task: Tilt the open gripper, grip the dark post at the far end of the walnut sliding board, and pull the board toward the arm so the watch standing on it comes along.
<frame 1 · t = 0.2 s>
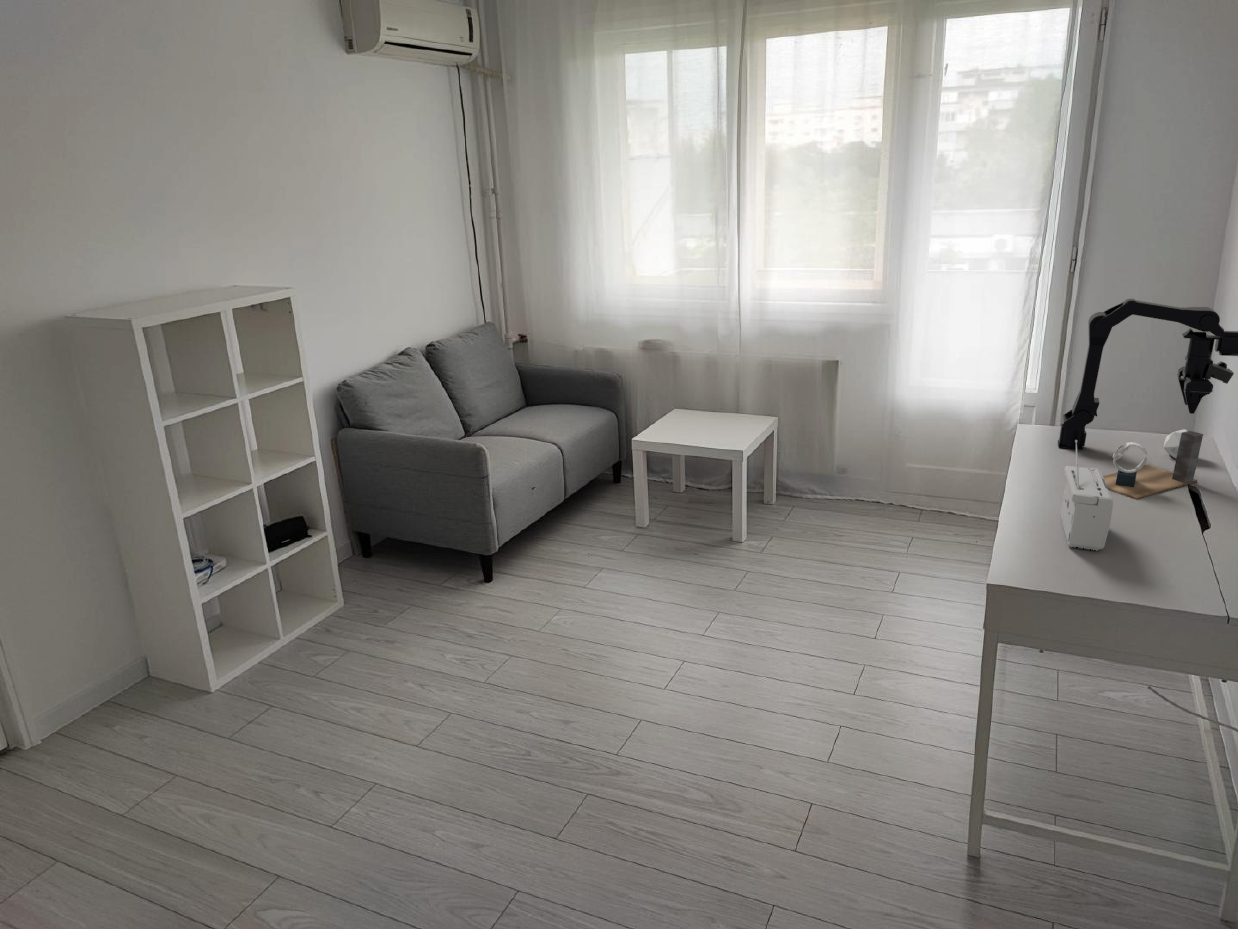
hand: (1189, 409, 250), 14 cm above the table, tool pointing down, fingers open, 9 cm apart
watch: (1124, 483, 236), resting on pull board
pull board: (1146, 458, 235), point 7 cm above the table, slide at 0.0 cm, touching watch
stereo radio cassette player: (1079, 534, 207), on the table
die: (1178, 457, 255), on the table
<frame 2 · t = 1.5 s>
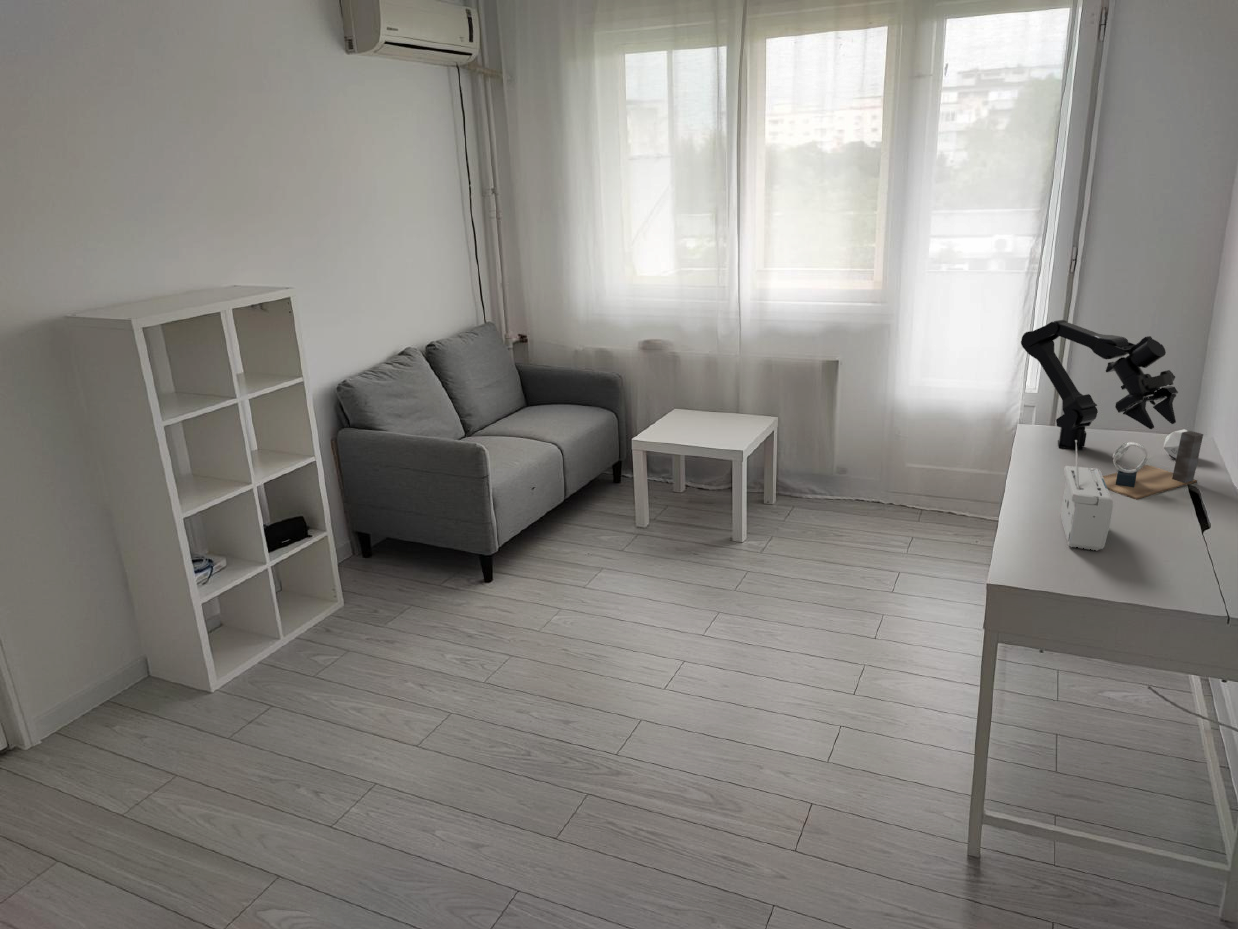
hand: (1163, 425, 239), 13 cm above the table, tool tilted 45°, fingers open, 9 cm apart
nothing on the table moved.
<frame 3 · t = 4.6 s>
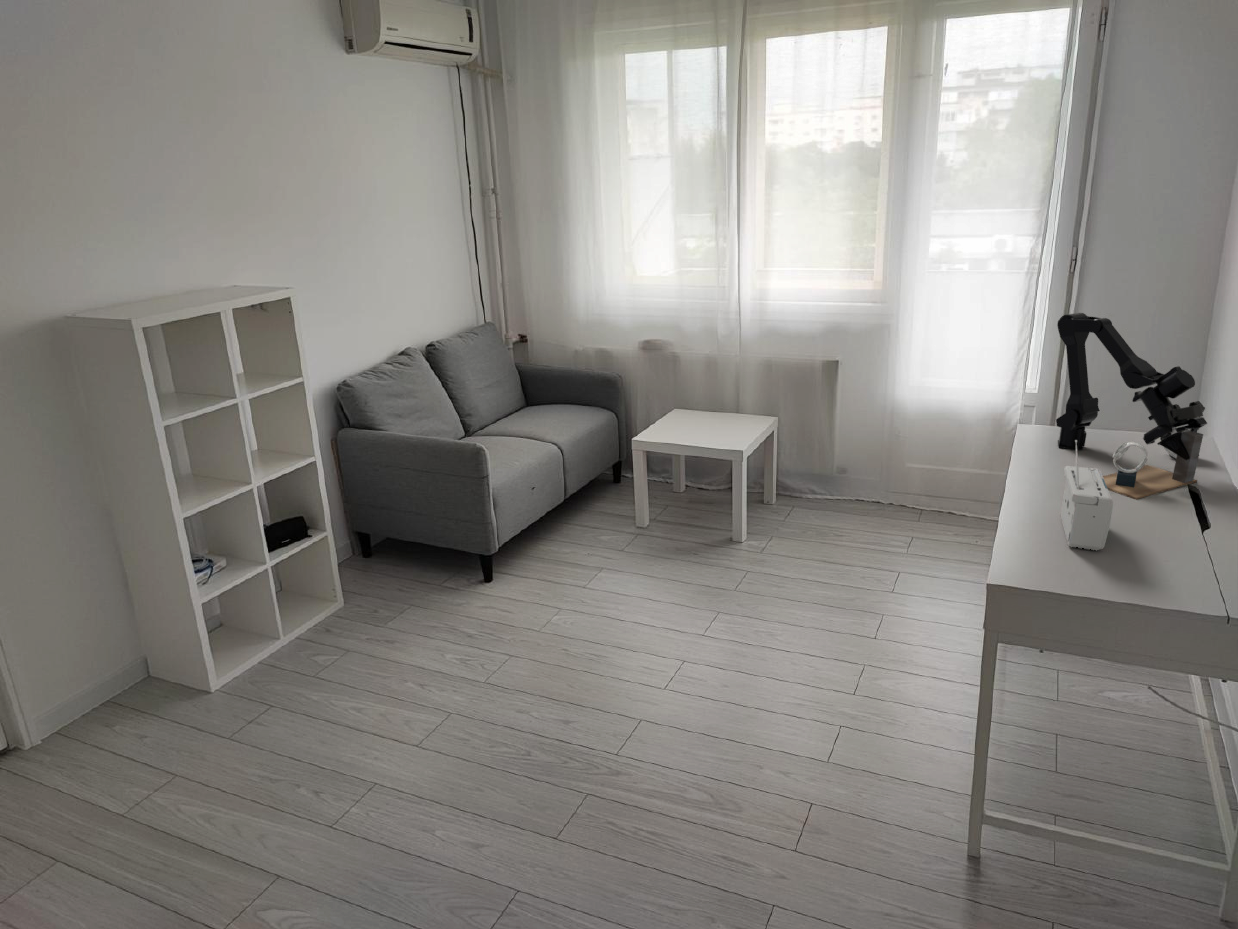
hand: (1192, 458, 234), 7 cm above the table, tool tilted 45°, fingers closed on pull board, 3 cm apart
pull board: (1146, 458, 235), point 7 cm above the table, slide at 0.0 cm, touching gripper, watch
everything else where it was.
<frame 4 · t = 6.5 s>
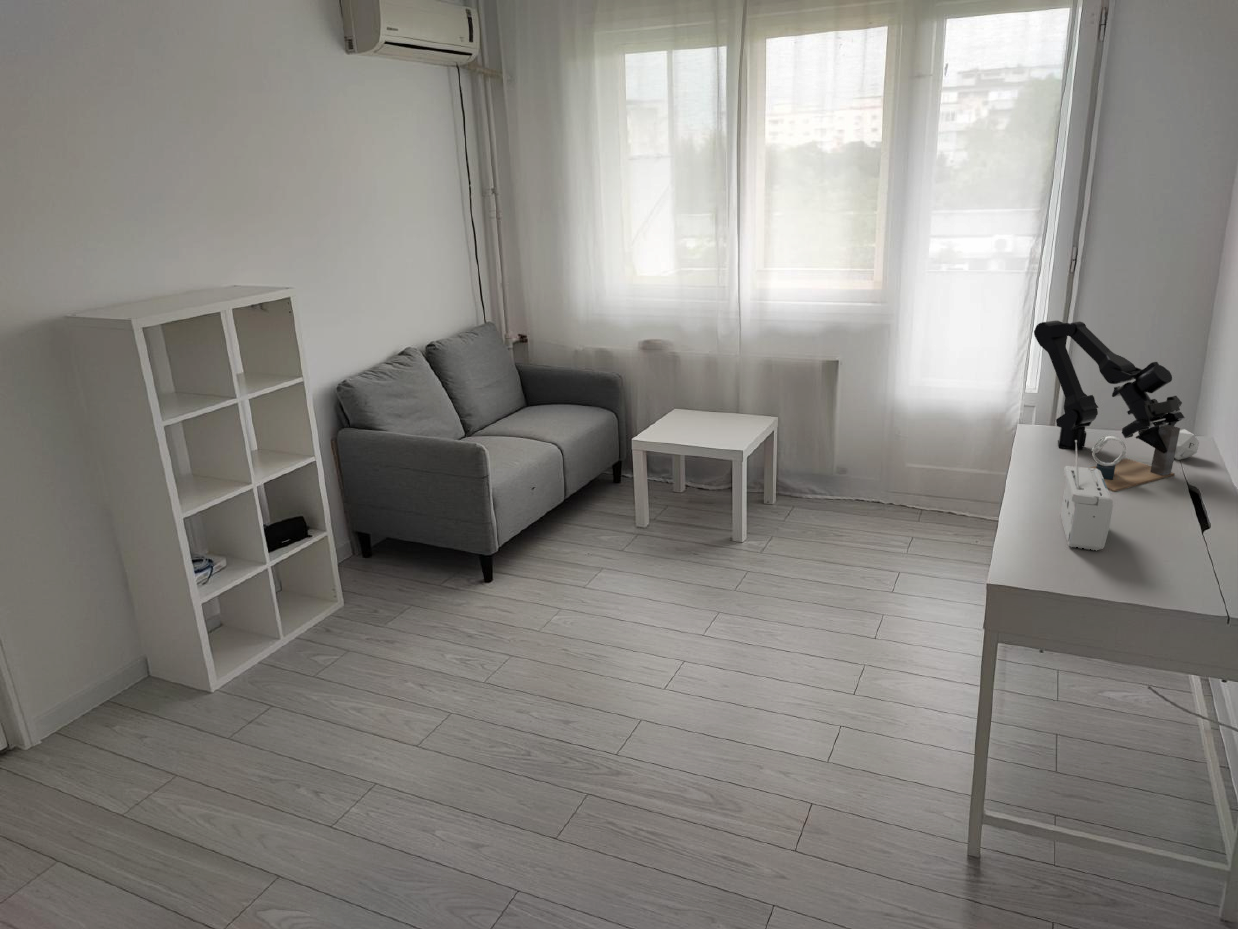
hand: (1170, 451, 239), 7 cm above the table, tool tilted 45°, fingers closed on pull board, 3 cm apart
watch: (1103, 476, 241), resting on pull board
pull board: (1124, 451, 240), point 7 cm above the table, slide at 6.1 cm, touching gripper, watch
everything else where it was.
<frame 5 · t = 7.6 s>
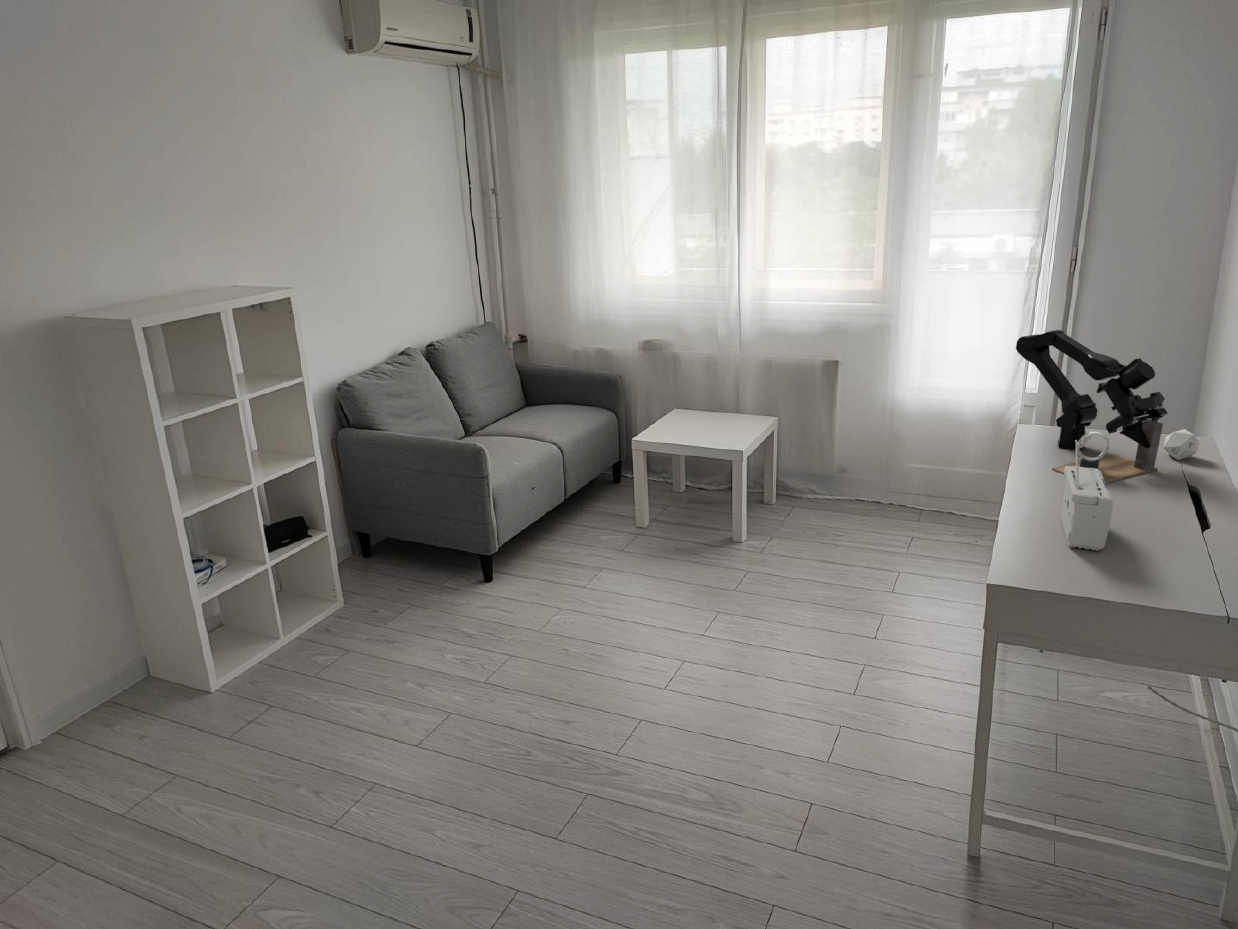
hand: (1153, 446, 243), 7 cm above the table, tool tilted 45°, fingers closed on pull board, 3 cm apart
watch: (1088, 471, 245), resting on pull board
pull board: (1108, 446, 244), point 7 cm above the table, slide at 10.8 cm, touching gripper, watch
everything else where it was.
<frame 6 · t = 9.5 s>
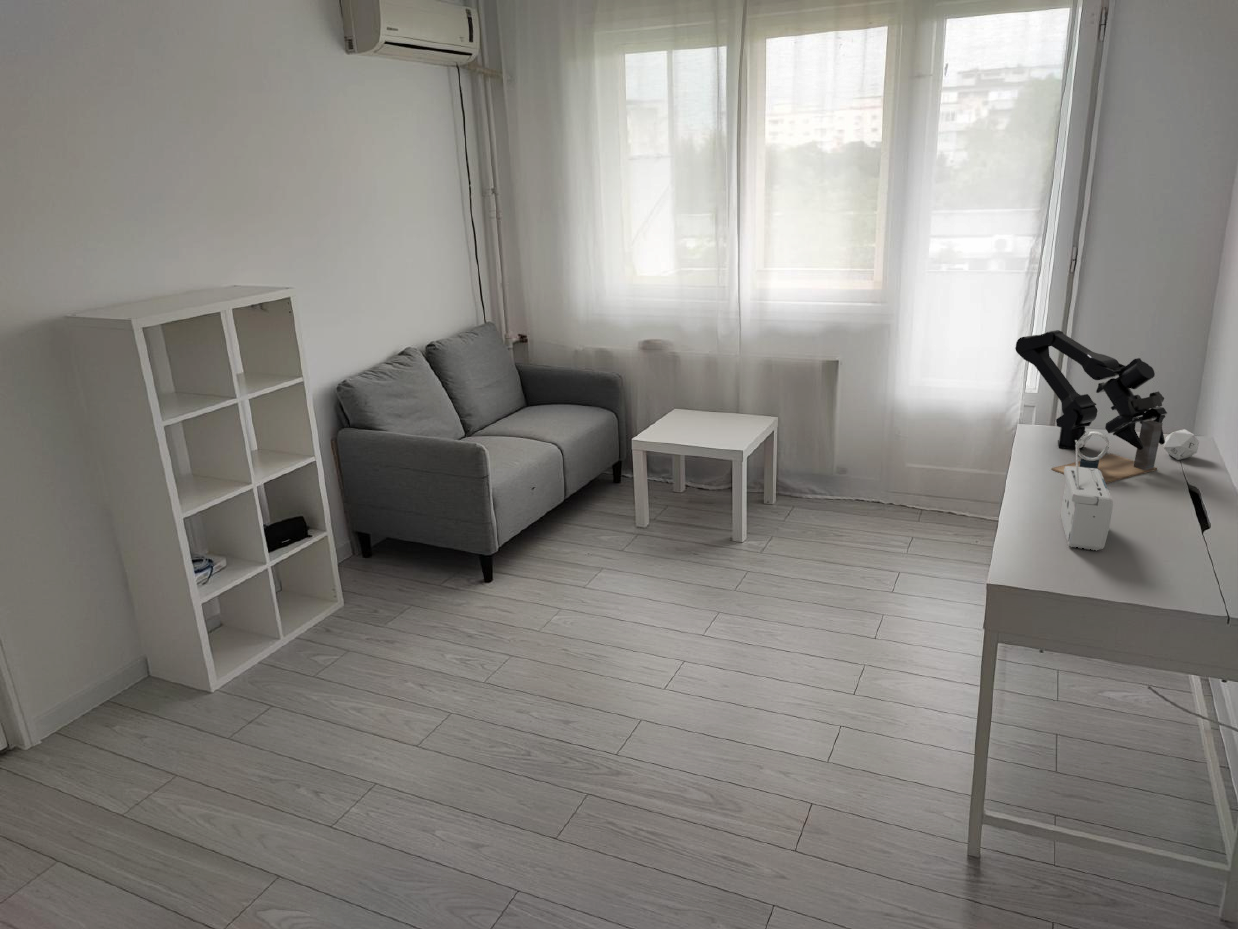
hand: (1152, 446, 243), 7 cm above the table, tool tilted 45°, fingers open, 9 cm apart
pull board: (1108, 446, 244), point 7 cm above the table, slide at 11.0 cm, touching watch
everything else where it was.
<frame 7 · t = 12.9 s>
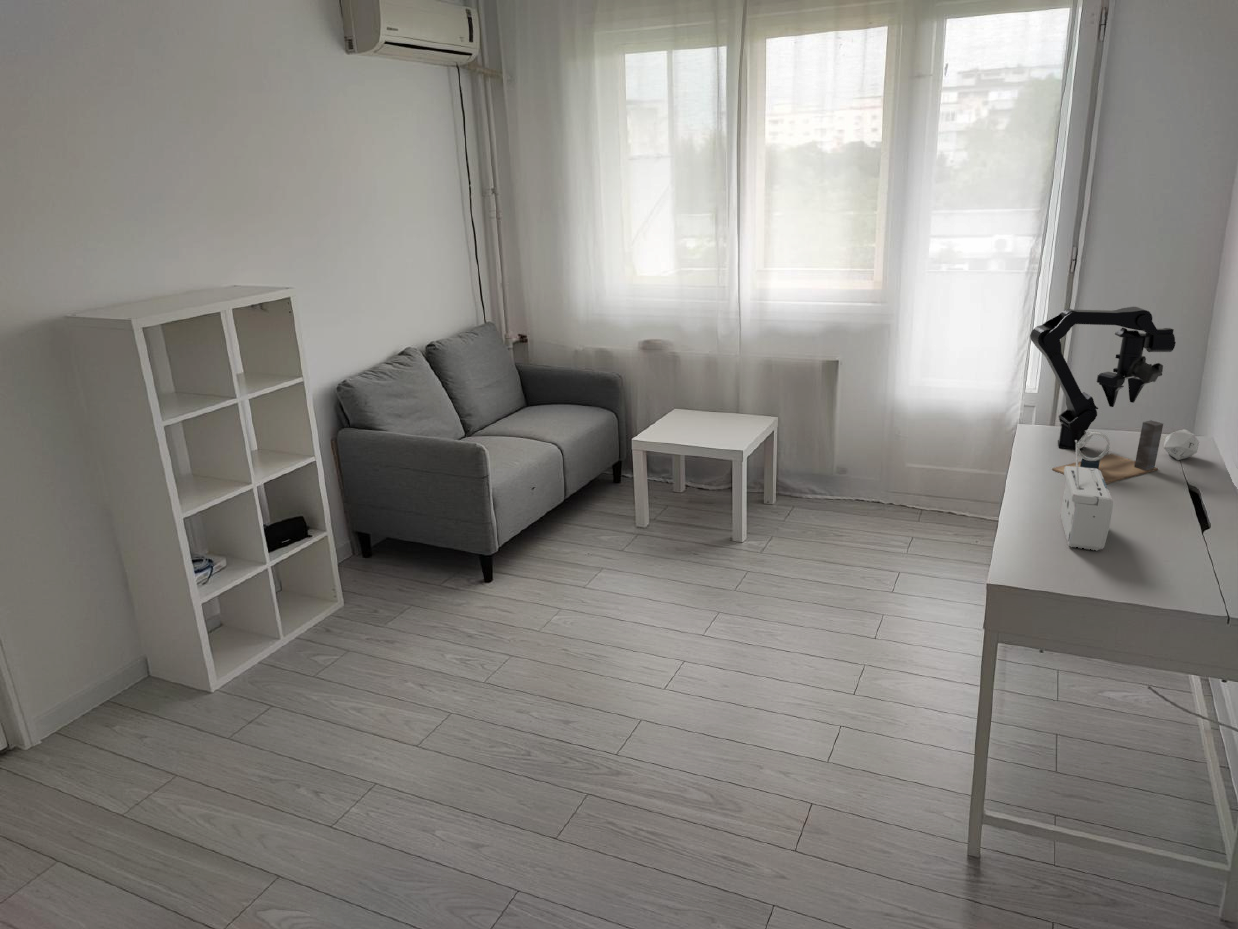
hand: (1121, 404, 260), 13 cm above the table, tool pointing down, fingers open, 9 cm apart
nothing on the table moved.
at the end: pull board slide at 10.7 cm; watch moved 10.7 cm from its start; watch tilted 0° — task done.
